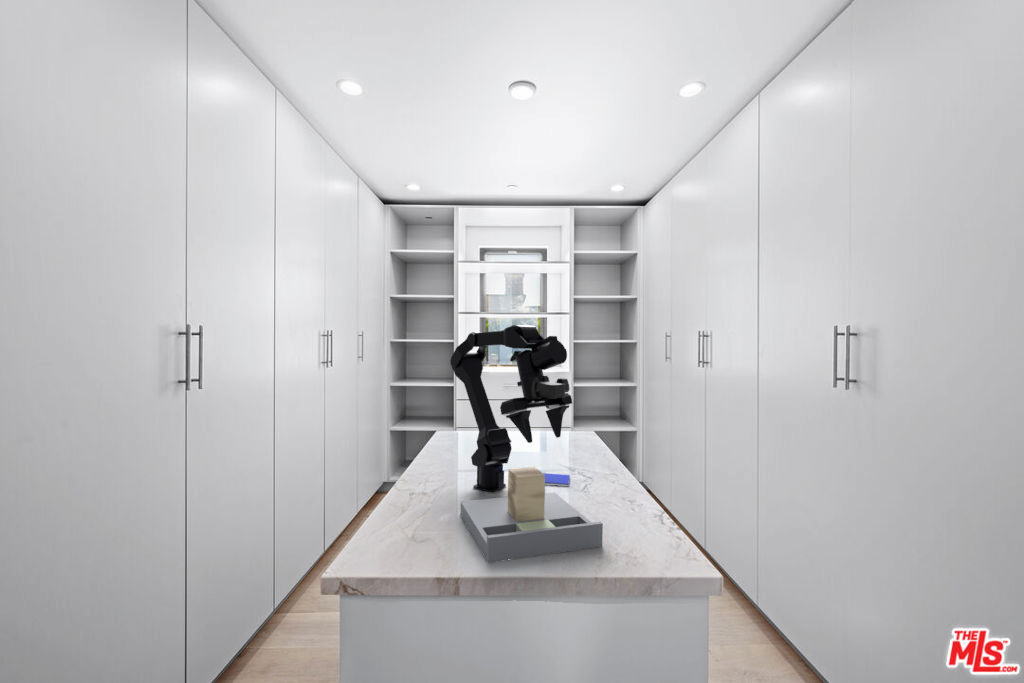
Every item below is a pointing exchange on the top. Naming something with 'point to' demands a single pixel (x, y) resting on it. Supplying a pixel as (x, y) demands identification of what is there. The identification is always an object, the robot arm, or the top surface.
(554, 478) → the hard drive
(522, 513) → the maple block
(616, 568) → the top surface
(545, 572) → the top surface
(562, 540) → the board
